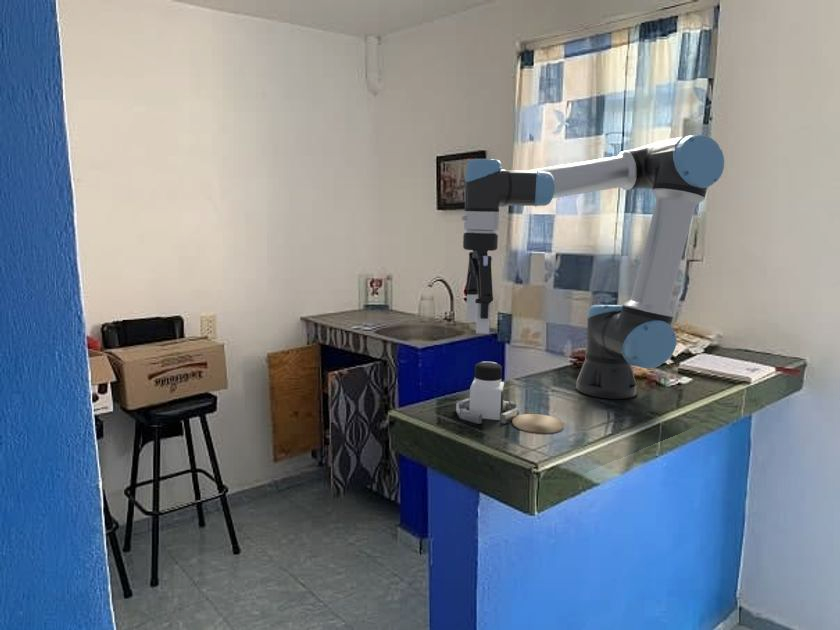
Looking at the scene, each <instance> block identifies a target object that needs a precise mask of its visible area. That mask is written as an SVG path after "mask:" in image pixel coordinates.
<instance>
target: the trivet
mask: <svg viewBox="0 0 840 630" xmlns="http://www.w3.org/2000/svg"><path fill="white" fill-rule="evenodd" d="M511 423H512V425H513V427H515V428H517V429H519V430H521V431H524V432H528V433H534V434H554V433H558V432H561V431H562V430H564V426H565V425H564V422H563V421H562V420H560V419H559V418H556V417H554V416H551V415H546V414H541V413H540V414H539V413H525V414H524V413H523V414H517V416H516V417H514V418H513V420H512V421H511Z"/></svg>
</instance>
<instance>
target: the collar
mask: <svg viewBox="0 0 840 630" xmlns="http://www.w3.org/2000/svg"><path fill="white" fill-rule="evenodd" d="M469 401H470V397H468V398H465V399H463V400H457V402H456V405H455V406H456V407H455V409H456V410H455V412H456V414H457V415H458V418H459V419H461V420H463V421H468V422H471V423H475V424H482V423H483V419H482V414H480V413H477V412H473V411H469ZM504 411H505V412H504ZM516 416H518V408H517V404H516V403H515V401H514V400H509V401H508V400H504V399H503V412H502V414H501V420H500V423H501V424H504V425H505V424H508V423H510V422H512V420H513V418H514V417H516Z"/></svg>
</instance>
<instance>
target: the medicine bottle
mask: <svg viewBox="0 0 840 630" xmlns="http://www.w3.org/2000/svg"><path fill="white" fill-rule="evenodd" d="M502 370H503V367H502V365H501V364H499V363H497V362H494V361H480V362H478V363H477V362H476V363H475V365H474V379H473V381H472V382H471V384H470V388H469V398H470V401H469V408H468V410H469V411H473V412H477V413H480V414H482V420H491V421H501V414H502V413H504V410H503V400H504V398H505V397H504V396H505V382H504V381H502V374H503V371H502Z"/></svg>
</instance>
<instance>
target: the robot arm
mask: <svg viewBox="0 0 840 630" xmlns="http://www.w3.org/2000/svg"><path fill="white" fill-rule="evenodd" d="M724 168H725V157H724V152H723V150H722V149H721V148H720V145H719V144H718V142H717V141H716V140H714V139H713V138H712V137H710V136H707V135H704V134H695V135H694V134H686V135H684V136H680V137H675V138H669V139H664V140H663V139H662V140H659V141H656V142H653V143H650V144H646V145H643V146H640V147H636V148H634V149H627V150H623V151H620V152H619V154H618V155H617V156H616V155H615V156H611V157H603V158H598V159H592V160H586V161H579V162H573V163H567V164H559V165H554V166H548V167H542V168H535V169H528V170H511V169H510V170H509V169H502V163H501V161H500V160H499V159H493V158H475V159H470V160H469V161H468V162H467V163H466V168H465V176H464V177H465V180H464V215H462V216H461V221H463V229H464V230H465V231H466V232H464V234H463V239H462V240H463V241H462V249H464V250H465V251H469V253H468V264H467V265H468V267H467V275H466V283H465V290H466V294H467V295H466V315H465V316H466V317H465V318H466V319H465V321H466V322H465V323H475V325H476V326H475V327H476V328H475V333H476V334H490V325H491V324H490V321H491V320H490V319H491V304H492V303H493V300H494V296H493V295H494V294H493V291H494V290H493V276H492V261H493V260H492V259H493V258H492V256H491V255H488V251H489V252H490V251H492V252H493V251H496V250H498V243H499V242H498V241H499V235H498V233H496V232H497V231H498V230H499V223H500V222H499V221H500V220H499V219H500V207H502V208H503V207H509V206H511V207H515V206H517V207H520V206H521V207H523V206H529V207H531V206H533V207H539V206H540V207H544V206H548V205H549V204H551V202H552V200H553V199H556V198H562V197H563V198H564V197H567V196H573V195H574V196H575V195H581V194H586V193H593V192H599V191H606V190H611V189H617V188H621V189H622V190H624V191H630V190H637V189H638V190H639V189H641V190H642V189H644V190H645V189H651V193H652V194H653V195H654V197H655V199H656V201H655V204H654V209H653V213H652V216H651V219H650V223H649V228H648V232H647V236H646V239H645V244H644V248H643V250H642V255H641V259H640V262H639V263H640V264H639V266H638V270H637V275H636V277H635V282H634V286H633V290H632V293H631V296H630V299H629V300H627V301H625V302H623V303H622V304H593V305H591V306H590V307H589V311H588V315H587V327H586V342H585V343H586V344H585V356H584V358H585V360H584V362H583V365H582V367H581V369H580V371H579V374H578V377H577V379H576V383H575V385H576V386H575V388H576V390H577V391H578V392H580V393H582V394H585V395H587V396H592V397H596V398H601V399H602V398H603V399H610V400H611V399H612V400H619V399H620V400H622V399H629V398H633V397H635V396H636V394H637V383H636V382H637V381H636V379H635V375H634V370H633V366H636V367H638V368H639V367H640V368H642V369H655V368H657V367H660V366H661V365H663V364H664V363H666V362H667V361H668V360H670V358H671V357H672V356H673V354H674V352H675V350H676V347H677V335H676V333H675V330H674V328H673V327H672V326H671V325H672V322H673V318H674V314H673V312H672V311H671V309H670V302H671V299H672V296H673V291H674V289H675V284H676V281H677V276H678V274H679V269H680V265H681V261H682V257H683V253H684V250H685V247H686V243H687V239H688V235H689V231H690V227H691V223H692V219H693V216H694V212H695V209H696V206H697V205H699V204H700V203H701V202H703V201H704V200H705V199H706V194H707V192H708V189H709V187H711V186H712V185H714V184H715V183H716V182H718V181H719V179H720V178H721V177H722V174H723V172H724Z"/></svg>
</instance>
